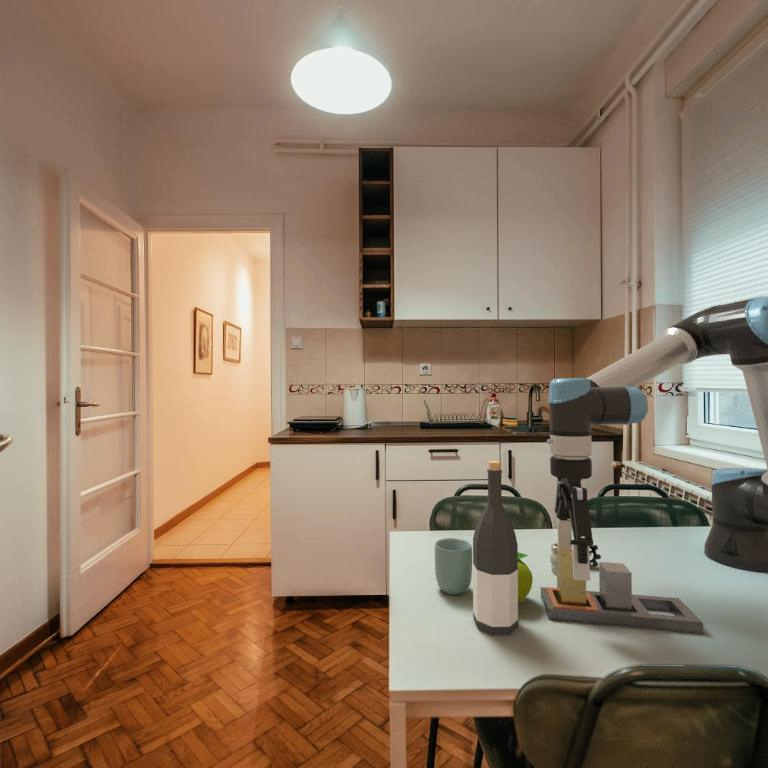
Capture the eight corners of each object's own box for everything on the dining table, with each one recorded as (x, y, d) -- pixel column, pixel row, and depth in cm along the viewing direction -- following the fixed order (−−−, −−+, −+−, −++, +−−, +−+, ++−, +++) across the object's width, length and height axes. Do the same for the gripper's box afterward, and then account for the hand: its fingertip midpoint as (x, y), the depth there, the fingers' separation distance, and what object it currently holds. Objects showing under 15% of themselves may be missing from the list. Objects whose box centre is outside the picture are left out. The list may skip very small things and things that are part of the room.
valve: (564, 580, 98) (601, 571, 104) (564, 551, 99) (601, 543, 104) (542, 569, 104) (578, 561, 110) (542, 542, 104) (578, 535, 110)
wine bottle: (491, 640, 75) (490, 467, 75) (464, 618, 82) (463, 460, 83) (527, 630, 78) (526, 463, 78) (498, 609, 86) (498, 457, 86)
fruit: (480, 591, 93) (480, 544, 93) (524, 591, 93) (523, 544, 93) (489, 613, 84) (489, 561, 84) (537, 614, 84) (537, 562, 84)
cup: (449, 602, 88) (449, 553, 88) (428, 587, 95) (428, 541, 95) (479, 594, 92) (479, 546, 92) (457, 579, 99) (456, 535, 99)
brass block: (580, 605, 87) (580, 550, 87) (586, 617, 83) (585, 559, 83) (557, 603, 88) (556, 549, 88) (561, 614, 84) (561, 557, 84)
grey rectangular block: (623, 609, 86) (623, 563, 86) (631, 621, 81) (631, 572, 81) (599, 607, 86) (599, 561, 87) (606, 618, 82) (606, 571, 82)
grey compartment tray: (678, 608, 86) (678, 596, 86) (703, 633, 77) (703, 620, 77) (540, 596, 91) (540, 585, 91) (548, 619, 82) (548, 607, 82)
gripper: (540, 447, 99) (541, 540, 99) (564, 467, 74) (566, 592, 74) (575, 447, 97) (577, 542, 97) (611, 468, 73) (614, 595, 73)
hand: (572, 564), depth 86 cm, fingers open, 13 cm apart
